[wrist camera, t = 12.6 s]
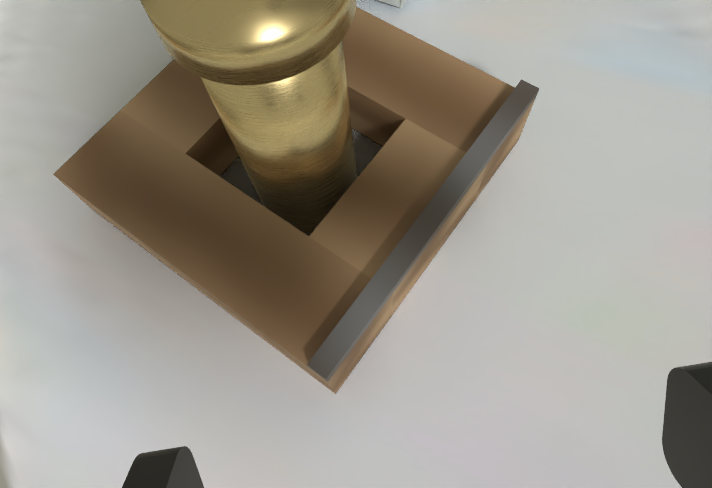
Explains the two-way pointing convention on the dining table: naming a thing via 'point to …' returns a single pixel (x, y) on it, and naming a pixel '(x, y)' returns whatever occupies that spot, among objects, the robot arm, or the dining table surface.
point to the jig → (344, 221)
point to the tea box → (394, 2)
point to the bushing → (273, 92)
